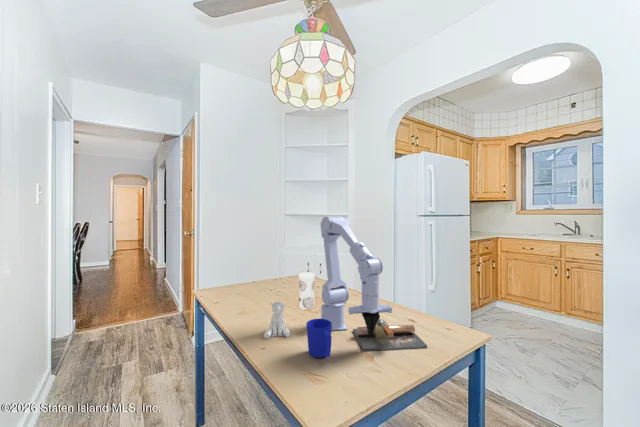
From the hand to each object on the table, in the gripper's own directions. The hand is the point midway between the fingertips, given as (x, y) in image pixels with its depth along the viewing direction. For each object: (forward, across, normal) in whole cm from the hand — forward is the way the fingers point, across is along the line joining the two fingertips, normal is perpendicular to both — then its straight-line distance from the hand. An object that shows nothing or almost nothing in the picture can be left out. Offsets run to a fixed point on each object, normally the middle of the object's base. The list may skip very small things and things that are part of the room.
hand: (370, 334), depth 97 cm
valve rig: (+5, +8, +6) cm, 11 cm away
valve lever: (0, +6, +3) cm, 7 cm away
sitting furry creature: (+5, -32, +15) cm, 36 cm away
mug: (+5, -17, -4) cm, 18 cm away
